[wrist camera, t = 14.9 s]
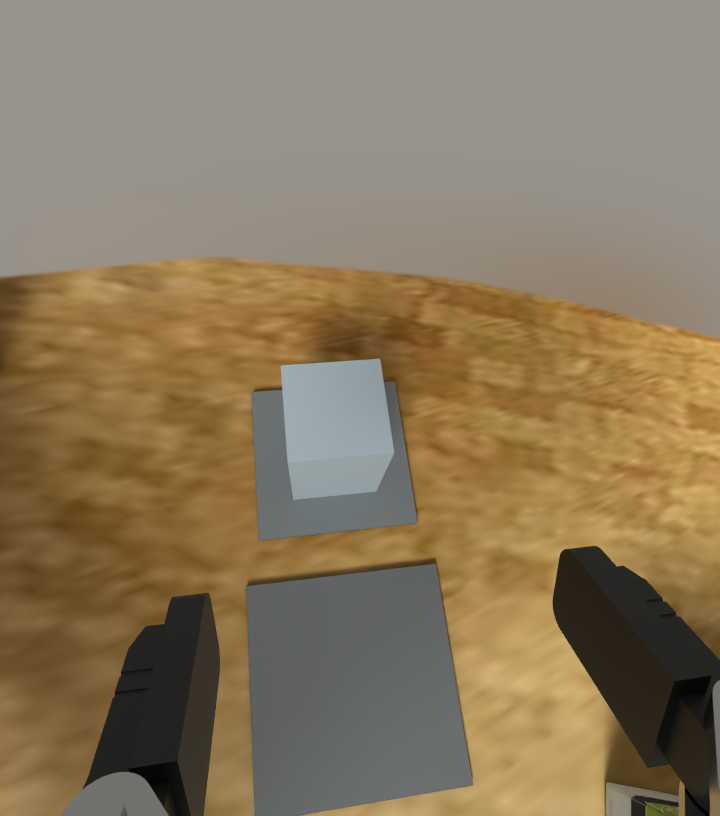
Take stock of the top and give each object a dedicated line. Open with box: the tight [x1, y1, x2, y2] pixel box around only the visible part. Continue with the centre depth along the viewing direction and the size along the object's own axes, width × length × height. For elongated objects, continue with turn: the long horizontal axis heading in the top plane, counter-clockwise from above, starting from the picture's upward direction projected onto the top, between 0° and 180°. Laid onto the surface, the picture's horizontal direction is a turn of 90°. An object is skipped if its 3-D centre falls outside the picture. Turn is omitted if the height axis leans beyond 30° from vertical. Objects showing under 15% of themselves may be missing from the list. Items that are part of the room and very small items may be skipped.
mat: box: [246, 564, 473, 816], centre depth 36 cm, size 14×14×1 cm
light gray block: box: [281, 359, 394, 500], centre depth 37 cm, size 6×6×10 cm
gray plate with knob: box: [252, 381, 418, 541], centre depth 41 cm, size 12×12×4 cm
